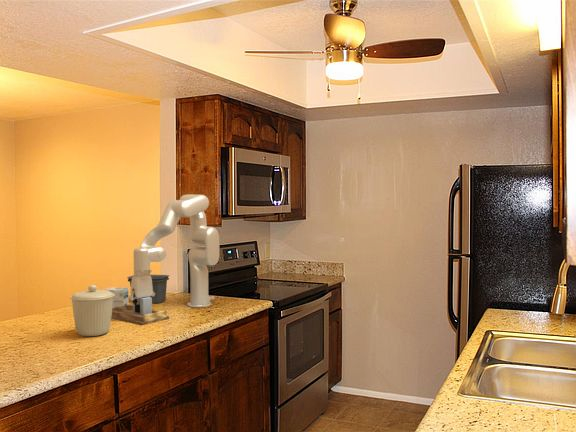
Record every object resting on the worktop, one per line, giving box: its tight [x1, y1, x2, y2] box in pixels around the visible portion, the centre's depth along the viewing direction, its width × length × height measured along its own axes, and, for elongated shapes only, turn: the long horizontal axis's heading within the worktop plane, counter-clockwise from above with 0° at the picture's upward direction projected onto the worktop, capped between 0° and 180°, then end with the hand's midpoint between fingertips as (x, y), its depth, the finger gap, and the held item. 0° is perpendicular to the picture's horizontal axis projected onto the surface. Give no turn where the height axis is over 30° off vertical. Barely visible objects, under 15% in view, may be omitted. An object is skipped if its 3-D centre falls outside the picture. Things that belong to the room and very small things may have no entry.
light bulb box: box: [103, 287, 130, 308], centre depth 284 cm, size 11×7×11 cm, turn 84°
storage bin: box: [126, 274, 170, 304], centre depth 303 cm, size 21×16×14 cm
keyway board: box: [111, 304, 170, 326], centre depth 264 cm, size 16×30×4 cm, turn 54°
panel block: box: [132, 297, 153, 316], centre depth 261 cm, size 5×8×8 cm, turn 53°
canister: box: [69, 284, 115, 337], centre depth 233 cm, size 18×18×21 cm
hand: (142, 311), depth 261 cm, fingers closed on panel block, 5 cm apart
